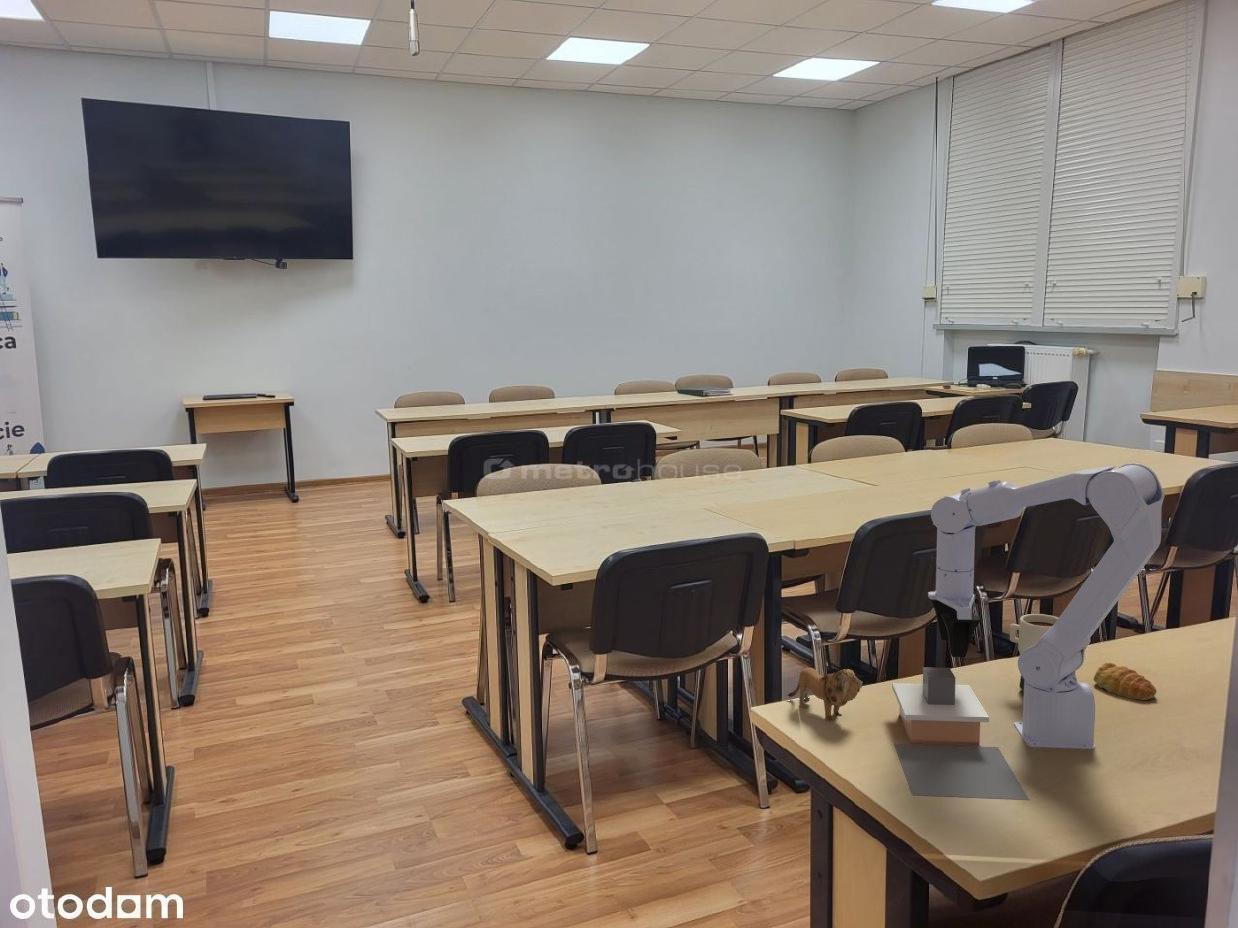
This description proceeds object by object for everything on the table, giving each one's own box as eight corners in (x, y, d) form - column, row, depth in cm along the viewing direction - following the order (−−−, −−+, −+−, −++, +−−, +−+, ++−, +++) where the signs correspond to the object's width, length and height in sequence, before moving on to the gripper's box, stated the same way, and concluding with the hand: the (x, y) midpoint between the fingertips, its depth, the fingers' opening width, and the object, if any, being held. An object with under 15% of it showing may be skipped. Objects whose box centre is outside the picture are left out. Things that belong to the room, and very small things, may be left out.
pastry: (1165, 697, 149) (1167, 676, 149) (1139, 706, 147) (1140, 684, 146) (1114, 678, 158) (1115, 658, 157) (1088, 686, 155) (1089, 665, 154)
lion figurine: (867, 722, 143) (868, 669, 142) (846, 732, 140) (846, 678, 139) (797, 694, 155) (797, 645, 154) (776, 703, 152) (776, 652, 150)
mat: (997, 749, 133) (997, 747, 133) (1029, 802, 118) (1029, 799, 118) (894, 746, 135) (894, 743, 135) (912, 797, 120) (912, 795, 120)
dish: (963, 718, 144) (964, 692, 143) (979, 747, 134) (980, 719, 133) (899, 716, 145) (899, 690, 144) (910, 745, 135) (911, 717, 135)
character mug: (1081, 696, 151) (1085, 622, 149) (1063, 709, 146) (1067, 633, 144) (1017, 678, 159) (1019, 608, 157) (998, 690, 154) (1001, 618, 152)
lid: (968, 689, 144) (969, 659, 143) (988, 722, 132) (990, 689, 131) (892, 687, 145) (892, 657, 145) (905, 719, 134) (905, 687, 133)
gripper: (920, 555, 152) (919, 632, 154) (938, 580, 137) (936, 663, 140) (963, 556, 151) (961, 633, 153) (986, 580, 136) (984, 664, 139)
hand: (952, 647), depth 146 cm, fingers open, 7 cm apart
